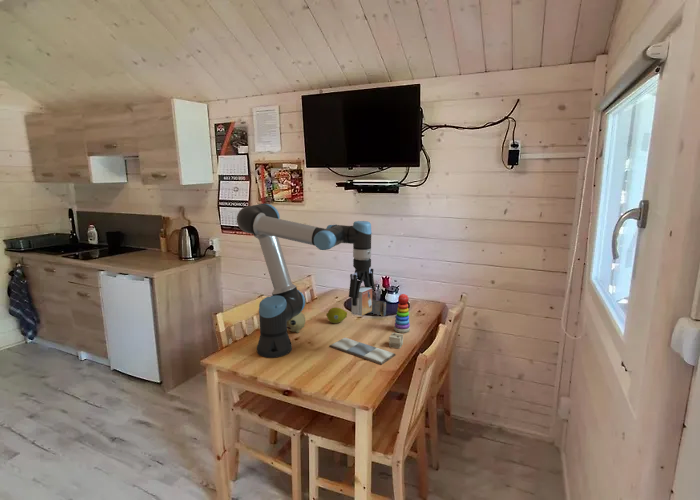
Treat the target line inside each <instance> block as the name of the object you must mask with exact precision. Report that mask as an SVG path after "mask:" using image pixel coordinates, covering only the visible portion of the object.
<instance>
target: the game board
mask: <svg viewBox="0 0 700 500" xmlns="http://www.w3.org/2000/svg"><path fill="white" fill-rule="evenodd" d="M329 348H331V349H335V350H338V351H340V352H343V353H346V354H349V355H352V356H355V357H357V358H361V359H362V360H363V359H364V360H367V361H369V362H372V363H375V364H378V365H381V366H382V365H384V364H386V363H387V362H388V361H389V360H391V359H392V358H394V357H395V356H396V355H397V354H396V353H394V352H391V351H388V350H386V349H381V348H379V347H375V346H372V345H369V344H367V343H364V342H360V341H356V340H354V339H351V338H348V337H343V338H341V339H339V340H338V341H335V342H334V343H331V344H330V345H329Z"/></svg>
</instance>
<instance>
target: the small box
mask: <svg viewBox="0 0 700 500" xmlns="http://www.w3.org/2000/svg"><path fill="white" fill-rule="evenodd" d="M358 298H359V313H355V312H353V305H352V304H351V314H353V315H356V316H357V315H358V316H361V317H362V316H364V315H366V314H369V312H371V311H372V300H373V293H372V288H369V287H365V285H361V286H360V290H359V294H358Z"/></svg>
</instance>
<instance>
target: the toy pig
mask: <svg viewBox="0 0 700 500" xmlns="http://www.w3.org/2000/svg"><path fill="white" fill-rule="evenodd" d="M305 324H306V317H305V314H304V313H303V312H302V311H301V312H300V313H299V314H298V315H297V316H295V317H293V318H292V319H290V320H289V321H287V332H288V331H289V332H293V333H294V332H295V333H297V334H299V333H300V330H302V329H303V328H304V327H305Z"/></svg>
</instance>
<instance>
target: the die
mask: <svg viewBox="0 0 700 500" xmlns="http://www.w3.org/2000/svg"><path fill="white" fill-rule="evenodd" d="M403 345H404V333H399V332H392V333H391V334H390V335H389V338H388V348H392V349H399V350H400V349H401V347H402V346H403Z"/></svg>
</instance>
